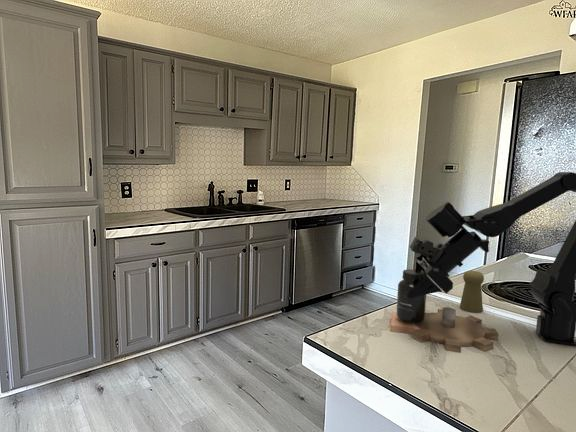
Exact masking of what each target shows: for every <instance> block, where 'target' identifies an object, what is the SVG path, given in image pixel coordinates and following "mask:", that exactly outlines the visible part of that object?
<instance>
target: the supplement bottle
mask: <svg viewBox="0 0 576 432" xmlns="http://www.w3.org/2000/svg"><path fill="white" fill-rule="evenodd" d="M420 279H421V271H419V270H414V269H411V268H410V269H409V268H407V269H403V271H402V280H400V281H399V282H398V284H397V296H396V297H397V298H396V312H397V317H398V318H399V319H401V320H403V321H406V322H412V323H418V322H422V321H423V320H424V318H425V312H426V306H427V305H426V304H427V294H426V295H422V296H418V297H414V298H409V297H408V296H407V294H408V293H409V291H410V290H411V289H412V288H413V287H414V286H415V285H416V283H417V282H418V281H419V280H420Z"/></svg>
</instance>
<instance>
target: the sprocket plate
mask: <svg viewBox="0 0 576 432" xmlns="http://www.w3.org/2000/svg"><path fill="white" fill-rule="evenodd" d="M390 316H391V317H390V325H389V326H390V328H389V332H395V333H403V334H411V339H413V340H416V341H417V342H420V343H424V342H425V343H426V342H427V341H432V342H435V343H438V344H441V345H444V348H445V351H449V352H456V353H457V352H458V353H462V351H461V350H462V347H474V348H476V349H478V350H481V351H483V352H487V351H490V350H492V349H494V341H492V340H496V341H498V340H499V335H500V334H499V332H498V330H497V329H496V328H493V327H492V328H491V327H483V326H482V321H483V320H482V319H481V318H478V317H476V316H473V315H469V316H465V317H464V316H462V315H461V316H460V315H457V309H455V308H452V307H448V306H446V307H445V306H444V307H442V309H441V308H438V309H437V312H426V311H425V318H424V320H423V321H422V322H418V323H412V322H406V321H403V320H401V319H399V318H398V317H397V311H392V312H391V315H390Z"/></svg>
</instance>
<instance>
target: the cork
mask: <svg viewBox="0 0 576 432" xmlns="http://www.w3.org/2000/svg"><path fill="white" fill-rule="evenodd" d="M462 278H463V282H464V286H463V290H462V296H461V300H460V304H459V310H461V311H463V312H467V313H472V314H481V313H483V312H484V308H483V293H482V292H483V291H482V284H483V283H484V281H485V279H484V275H483V273H482V272H480V271H477V270H467V271H464V273H463V277H462Z"/></svg>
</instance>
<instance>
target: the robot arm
mask: <svg viewBox="0 0 576 432" xmlns="http://www.w3.org/2000/svg"><path fill="white" fill-rule="evenodd" d="M567 192H573V193H576V172H574V171H559V172H556V173H555V174H554V175H553V176H551V177H550V178H548V179H546V180H544V181H543V182H541V183H539V184H537V185H535V186H534V187H531V188H529V189H528V190H526V191H524V192H523V193H521V194H519V195H517V196H515V197H514V198H512V199H510V200H508V201H506V202H503V203H500V204H496V205H492V206H489V207H486V208H484V209H480V210H478V211H476V212H475V213H473V214H472V215H471V214H470V215H464V216H463V215H462V214H461V213H459V211H457V209H456V208H455V207H454V205H452V203H450V202H449V201H445V203H443V204H441V205H440V206H438V207H437V208H435V209H433V210H432V211H431V212H429V214H428V215H427V216H426V218H425V221H426V223H428V225H429V226H431V228H433V230H435V231H436V233H438V235H440V237H441V238H445V237H447V238H450V239H448V240H447V241H446V242H445V243H438V244H437V245H434V242H432V241H430V240H428V239H422V238H419V236H418V237H417V236H414V238H413V240H412V242H411V244H410V245H409V249H410V250H411V251H412V252H413V253H415V255H414V257H415V259H414V269H413V270H419V271H421V279H420V280H419V281H418V282H417V283H416V285H415V286H414V287H413V288H412V289H411V290H410V291H409V293H408V294H407V296H408V297H409V298H414V297H418V296H422V295H426V296H427V295H429V294H430V295H431V294H435V293H441V292H444V293H445V294H448V293H449V292H450V291H452V290H453V289H454V287H453V286H454V282H453V281H452V280H451V278H449V277H450V274H449V273H451V271H452V270H454V269H455V268H456V267H459V268H461V267H462V266H463V265H464V264H463V263H462V262H464V261H465V260H466V259H467V258H468V257H469V256H470V255H472V254H473V253H474V252H475V251H477V250H478V249H480V250H482V251H483V252H485V253H486V254H487V253H489V252H490V247H489V246H490V241H489V240H488V239H486V238H485V239H483V238H481V237H480V235H479V234H481V235H483V236H485V237H488V238H496V237H498V236H499V237H500V235H502V234H503V233H505V232H506V231H507V230H509V229H510V228H511V227H512V226H513V225H514V224H515V222H516V221H517V220H518V219H520V218H522V216H525V215H526V214H528V213H530V212H532V211H534V210H536V209H538V208H539V207H541V206H544V204H545V205H546V203H548V202H550V201H552V200H554V199H556V198H558V197H559V196H560V197H561V196H562V195H563V194H565V193H567ZM464 226H466V227H468V228H469V229H471V230H472V231H469V230H468V229H466V228H465V227H464ZM473 230H474V231H473ZM476 232H478V233H479V234H477V233H476ZM416 259H417V260H416ZM529 285H531V287H530V292H531V295H532V297H533V299H534V300H537V304H538V306H539V307H540V312H539V314H537V316H536V328H535V332H536V333H537V335H539V337H540V338H542V341H544V342H546V343H555V344H563V345H568V346H569V345H572V346H576V340H575V336H576V303H575V302H574V301H573V298H574V296H575V293H576V220H575V221H574V223H573V224H572V227H571V229H570V230H569V232H568V234H567V236H566V238H565V240H564V242H563V244H562V246H561V248H560V250H559V251H558V253H557V255H556V257H555V259H554V261H553V263H552V265H551V266H550V267H548V268H547V269H546V270H545V271H543V270H541V269H537V270H536V273H535V276H534V278H533V279H532V281H530V282H529Z"/></svg>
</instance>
